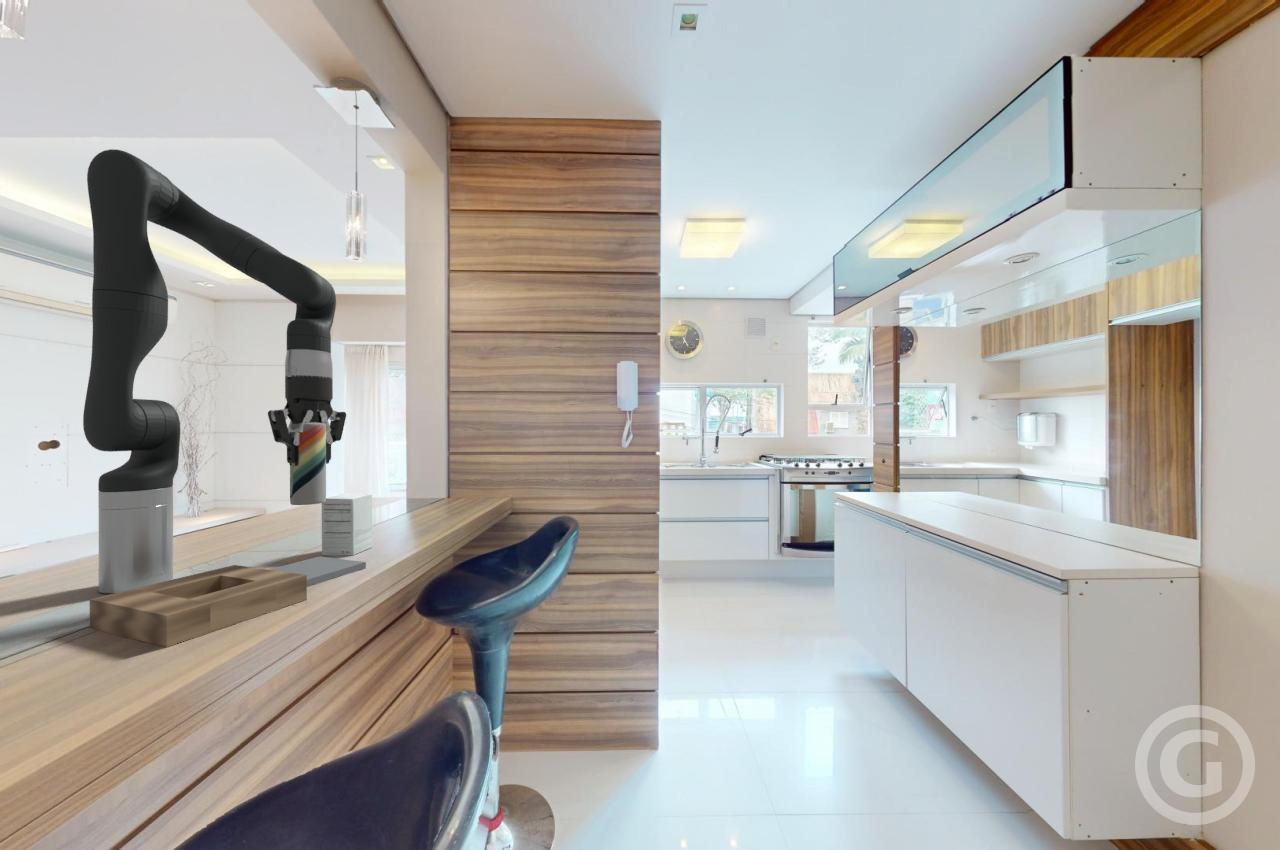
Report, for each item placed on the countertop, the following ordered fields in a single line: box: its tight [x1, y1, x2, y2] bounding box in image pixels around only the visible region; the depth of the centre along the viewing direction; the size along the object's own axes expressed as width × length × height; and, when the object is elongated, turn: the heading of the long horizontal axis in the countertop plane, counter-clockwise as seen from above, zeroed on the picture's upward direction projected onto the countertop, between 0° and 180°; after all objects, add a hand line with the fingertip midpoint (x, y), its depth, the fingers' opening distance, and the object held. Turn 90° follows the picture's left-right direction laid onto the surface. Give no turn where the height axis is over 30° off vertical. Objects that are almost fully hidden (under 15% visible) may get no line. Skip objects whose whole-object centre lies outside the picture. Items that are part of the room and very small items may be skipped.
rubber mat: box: [268, 556, 367, 587], centre depth 93 cm, size 13×13×1 cm
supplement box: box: [321, 493, 373, 556], centre depth 110 cm, size 7×7×13 cm
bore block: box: [89, 564, 308, 648], centre depth 73 cm, size 18×18×4 cm
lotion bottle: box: [289, 400, 327, 506], centre depth 92 cm, size 6×6×20 cm
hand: (309, 464), depth 93 cm, fingers closed on lotion bottle, 5 cm apart
